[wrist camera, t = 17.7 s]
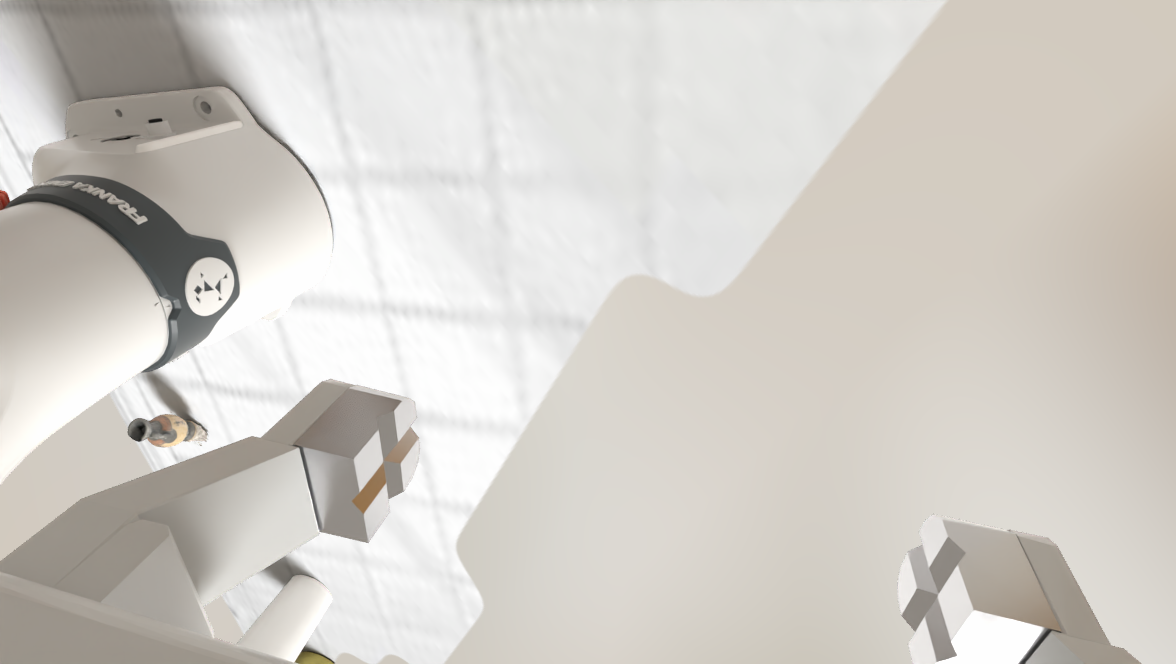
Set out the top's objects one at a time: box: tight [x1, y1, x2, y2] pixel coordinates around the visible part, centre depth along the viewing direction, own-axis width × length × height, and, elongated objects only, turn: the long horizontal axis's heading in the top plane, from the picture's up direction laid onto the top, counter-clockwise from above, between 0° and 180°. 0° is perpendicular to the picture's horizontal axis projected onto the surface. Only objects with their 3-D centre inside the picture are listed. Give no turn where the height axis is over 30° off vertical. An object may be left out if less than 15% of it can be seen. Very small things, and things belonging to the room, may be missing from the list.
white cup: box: [236, 575, 332, 662], centre depth 70 cm, size 7×7×10 cm
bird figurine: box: [128, 412, 207, 447], centre depth 60 cm, size 5×5×6 cm
